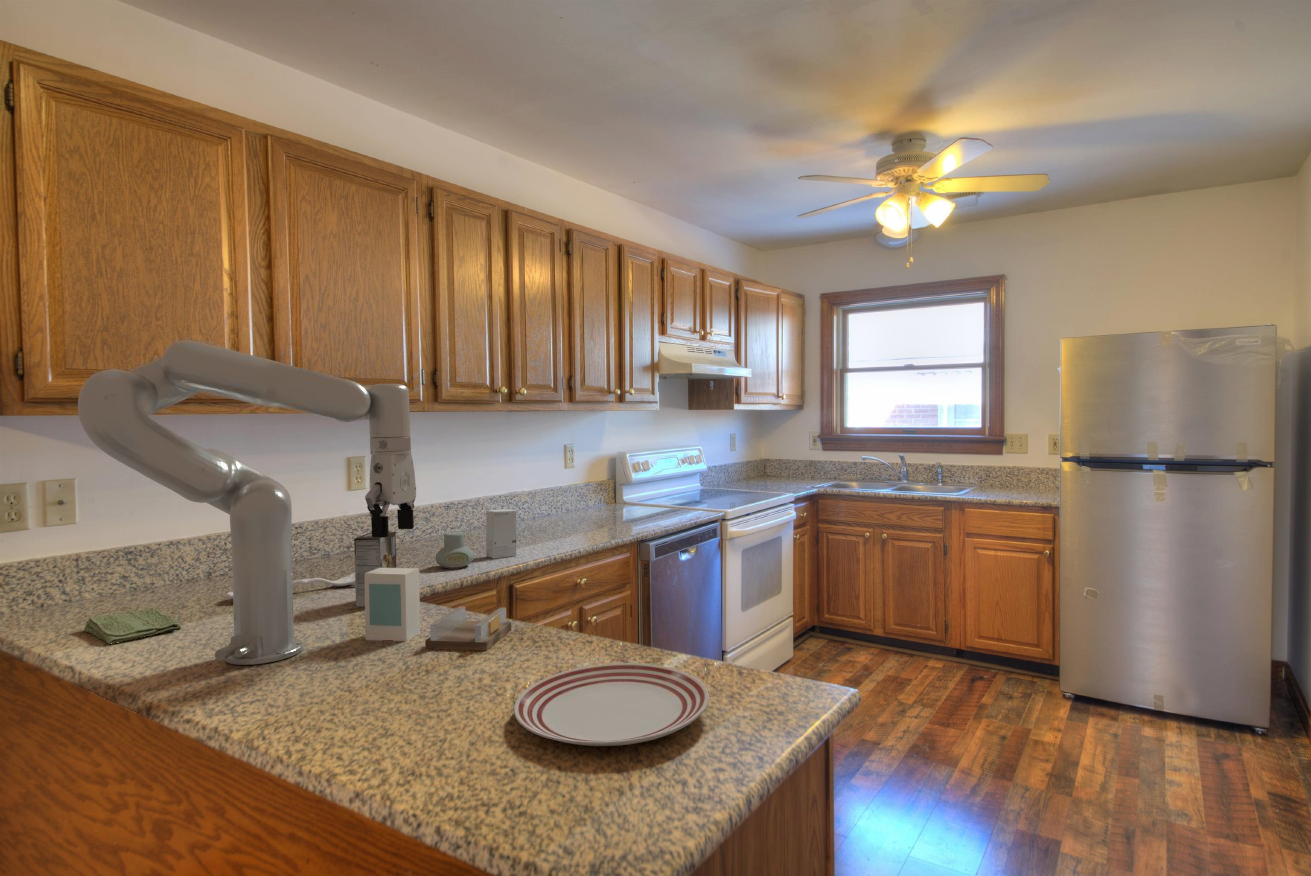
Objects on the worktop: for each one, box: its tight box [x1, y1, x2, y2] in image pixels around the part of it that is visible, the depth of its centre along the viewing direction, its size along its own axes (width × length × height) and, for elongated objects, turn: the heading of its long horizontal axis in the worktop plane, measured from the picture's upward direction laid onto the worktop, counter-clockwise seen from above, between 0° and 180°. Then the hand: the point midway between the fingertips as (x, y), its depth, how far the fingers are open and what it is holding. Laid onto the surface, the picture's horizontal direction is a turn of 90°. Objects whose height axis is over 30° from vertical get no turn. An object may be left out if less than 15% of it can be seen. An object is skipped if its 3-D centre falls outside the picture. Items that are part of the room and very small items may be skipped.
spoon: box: [225, 571, 355, 600], centre depth 175 cm, size 9×32×4 cm, turn 128°
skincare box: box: [485, 508, 517, 560], centre depth 221 cm, size 8×6×15 cm
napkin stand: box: [424, 620, 512, 652], centre depth 135 cm, size 13×12×2 cm
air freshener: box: [434, 531, 475, 570], centre depth 205 cm, size 11×8×10 cm
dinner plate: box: [513, 662, 710, 747], centre depth 98 cm, size 28×27×3 cm
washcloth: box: [83, 608, 182, 645], centre depth 143 cm, size 13×18×3 cm
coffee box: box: [353, 531, 397, 608], centre depth 165 cm, size 9×6×16 cm
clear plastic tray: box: [429, 606, 507, 642], centre depth 135 cm, size 13×10×3 cm
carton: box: [364, 567, 421, 642], centre depth 137 cm, size 6×8×13 cm
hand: (393, 532), depth 137 cm, fingers open, 9 cm apart
